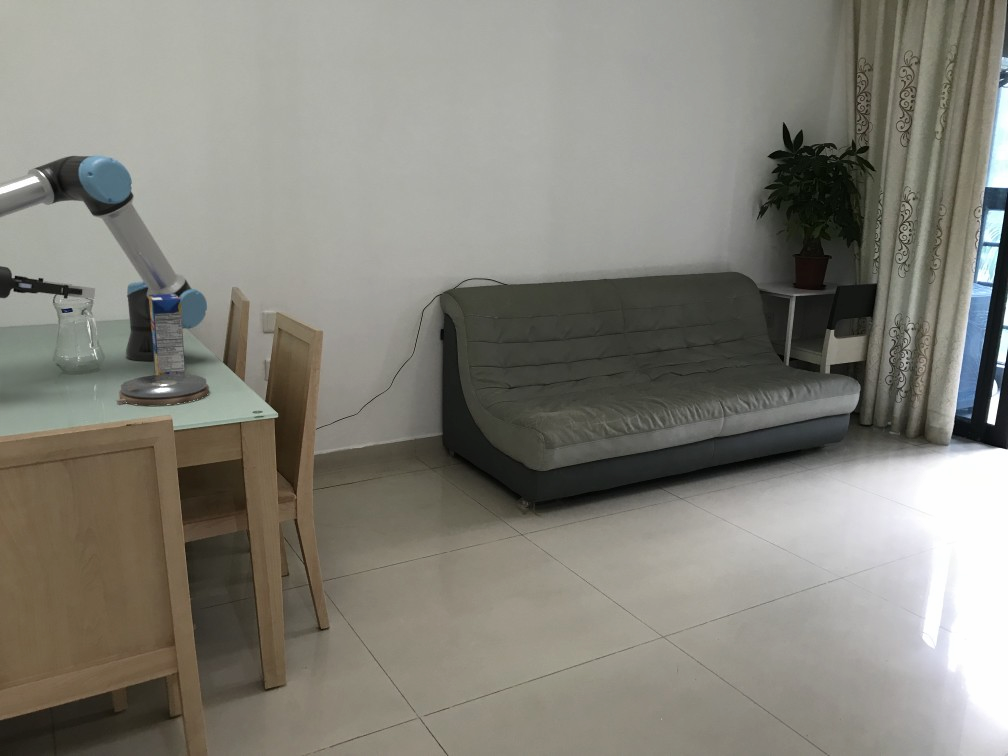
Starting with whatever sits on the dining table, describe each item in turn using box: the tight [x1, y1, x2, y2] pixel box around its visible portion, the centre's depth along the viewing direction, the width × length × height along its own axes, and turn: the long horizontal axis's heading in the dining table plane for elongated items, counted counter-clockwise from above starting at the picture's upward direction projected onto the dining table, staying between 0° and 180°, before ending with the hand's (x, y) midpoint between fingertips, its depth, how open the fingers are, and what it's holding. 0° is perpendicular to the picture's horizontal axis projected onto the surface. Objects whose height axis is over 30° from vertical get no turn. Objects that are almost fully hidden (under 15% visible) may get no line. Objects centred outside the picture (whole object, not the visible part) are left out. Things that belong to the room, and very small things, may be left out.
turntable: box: [120, 373, 208, 399], centre depth 205 cm, size 20×20×2 cm
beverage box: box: [149, 294, 186, 375], centre depth 223 cm, size 7×11×22 cm, turn 28°
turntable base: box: [116, 384, 210, 406], centre depth 205 cm, size 23×21×2 cm
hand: (82, 291), depth 207 cm, fingers open, 13 cm apart
